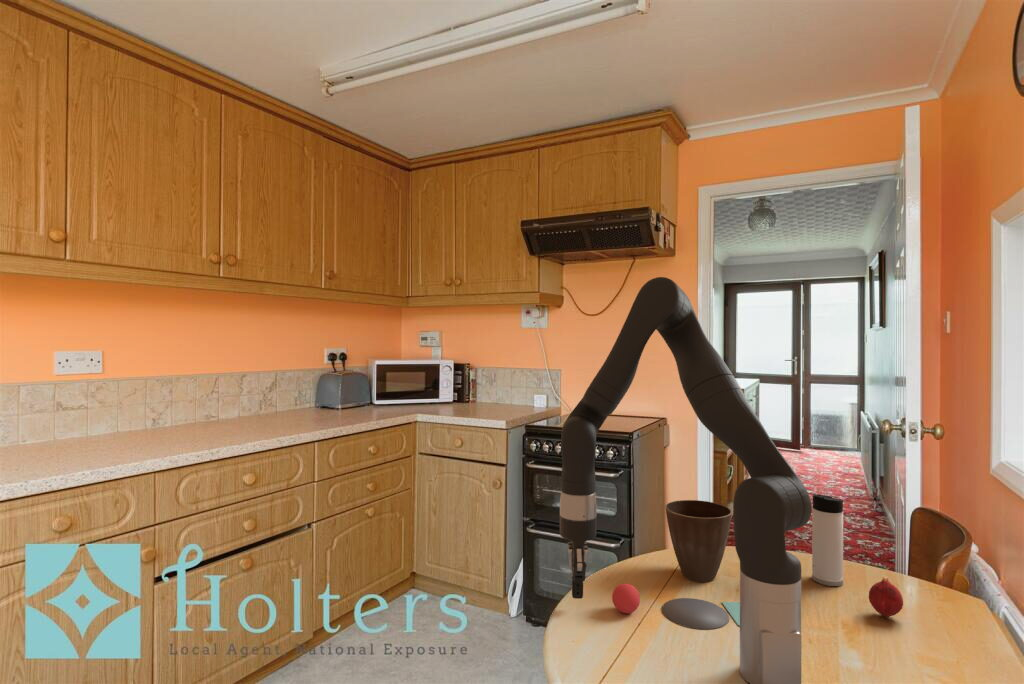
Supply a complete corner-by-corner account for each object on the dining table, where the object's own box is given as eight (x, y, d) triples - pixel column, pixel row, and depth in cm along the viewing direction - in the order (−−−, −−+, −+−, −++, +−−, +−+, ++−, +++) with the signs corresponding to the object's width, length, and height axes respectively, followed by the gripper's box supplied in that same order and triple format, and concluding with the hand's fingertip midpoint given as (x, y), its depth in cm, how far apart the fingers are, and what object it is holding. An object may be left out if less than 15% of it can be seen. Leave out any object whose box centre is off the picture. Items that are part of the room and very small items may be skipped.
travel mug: (805, 578, 133) (805, 493, 133) (824, 574, 136) (824, 490, 136) (829, 589, 128) (830, 500, 127) (849, 584, 130) (849, 496, 130)
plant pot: (663, 583, 130) (663, 514, 130) (667, 560, 144) (667, 497, 144) (733, 593, 125) (733, 520, 125) (730, 568, 139) (730, 502, 139)
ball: (642, 618, 114) (642, 590, 114) (614, 618, 114) (614, 590, 114) (637, 605, 119) (637, 579, 119) (610, 605, 119) (610, 578, 119)
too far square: (790, 627, 110) (790, 626, 110) (738, 626, 111) (738, 625, 111) (769, 603, 120) (769, 602, 120) (721, 602, 121) (721, 601, 121)
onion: (908, 625, 111) (908, 584, 111) (876, 622, 112) (876, 582, 112) (895, 611, 117) (895, 573, 117) (864, 609, 118) (864, 570, 118)
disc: (738, 630, 109) (738, 629, 109) (670, 628, 110) (670, 627, 110) (717, 599, 122) (717, 598, 122) (656, 598, 123) (656, 597, 123)
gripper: (599, 524, 110) (599, 612, 111) (593, 504, 124) (592, 583, 124) (561, 523, 111) (560, 611, 111) (558, 503, 124) (558, 582, 124)
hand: (577, 596), depth 117 cm, fingers closed
